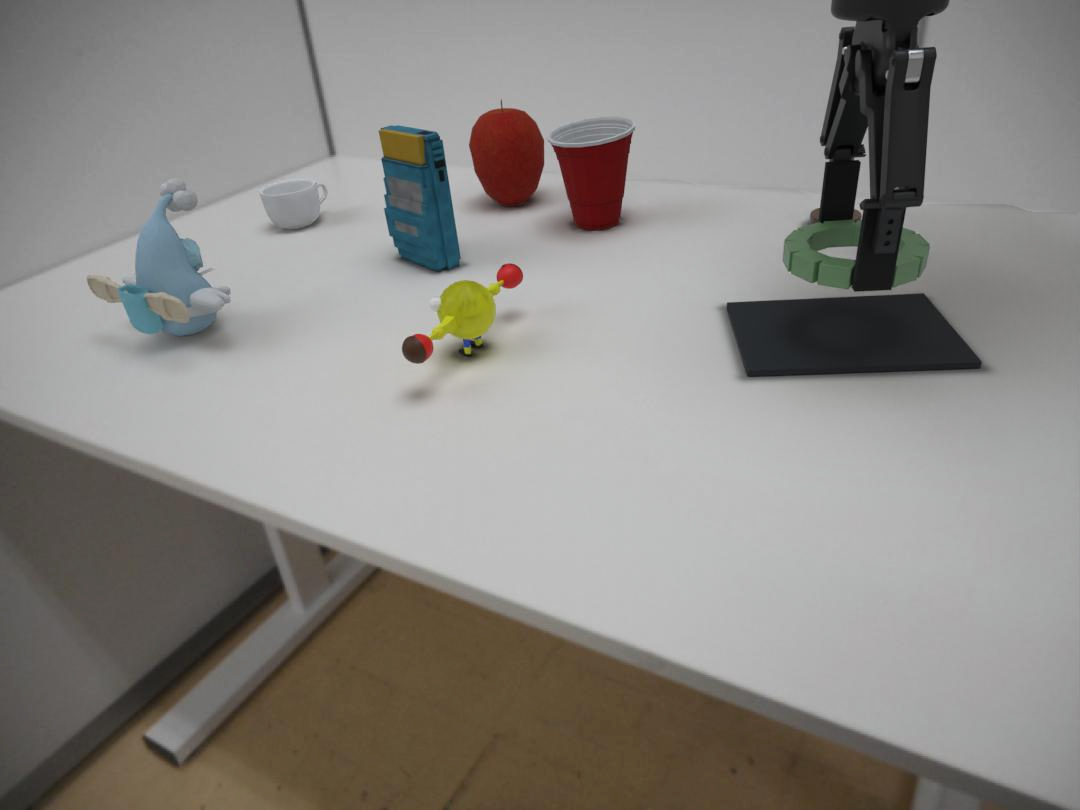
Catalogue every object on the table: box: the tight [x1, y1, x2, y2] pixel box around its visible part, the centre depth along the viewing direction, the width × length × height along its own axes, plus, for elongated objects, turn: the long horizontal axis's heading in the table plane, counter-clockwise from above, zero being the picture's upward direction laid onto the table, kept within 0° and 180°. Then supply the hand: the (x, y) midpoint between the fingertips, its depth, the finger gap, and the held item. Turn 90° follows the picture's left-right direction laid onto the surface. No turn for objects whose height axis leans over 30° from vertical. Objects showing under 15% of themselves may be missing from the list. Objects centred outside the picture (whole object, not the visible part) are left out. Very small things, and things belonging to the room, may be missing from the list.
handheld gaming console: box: [378, 124, 462, 273], centre depth 85 cm, size 10×4×15 cm, turn 43°
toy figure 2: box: [401, 262, 524, 365], centre depth 67 cm, size 18×6×7 cm, turn 152°
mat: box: [726, 292, 983, 377], centre depth 65 cm, size 18×13×1 cm
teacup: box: [258, 178, 328, 230], centre depth 105 cm, size 10×8×5 cm
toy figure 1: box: [86, 177, 232, 337], centre depth 74 cm, size 17×10×15 cm, turn 57°
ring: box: [782, 219, 931, 290], centre depth 61 cm, size 11×11×2 cm
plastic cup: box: [546, 115, 637, 231], centre depth 92 cm, size 11×11×12 cm
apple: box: [468, 98, 545, 208], centre depth 102 cm, size 10×10×14 cm
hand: (850, 260), depth 61 cm, fingers closed on ring, 11 cm apart
